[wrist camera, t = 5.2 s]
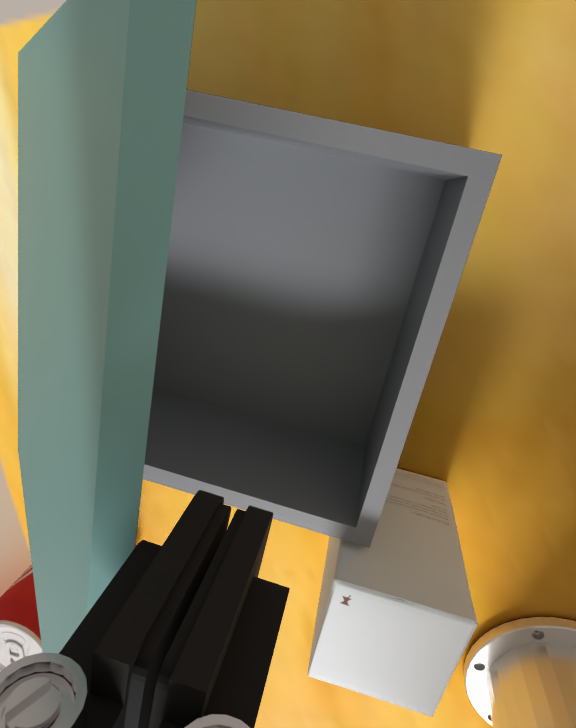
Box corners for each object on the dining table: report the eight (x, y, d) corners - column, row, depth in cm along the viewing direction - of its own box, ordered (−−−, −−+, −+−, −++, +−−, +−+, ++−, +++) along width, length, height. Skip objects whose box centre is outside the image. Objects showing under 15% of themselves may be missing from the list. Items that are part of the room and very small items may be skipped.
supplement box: (328, 531, 39) (301, 677, 27) (351, 452, 36) (332, 577, 24) (420, 559, 38) (433, 723, 26) (451, 481, 35) (481, 624, 24)
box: (466, 166, 29) (502, 154, 19) (375, 455, 36) (369, 547, 27) (147, 99, 31) (42, 59, 22) (122, 384, 38) (36, 446, 29)
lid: (201, -45, 6) (134, -74, 6) (100, 851, 13) (68, 869, 13) (39, 58, 21) (18, 52, 21) (33, 447, 29) (18, 449, 28)
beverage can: (74, 499, 43) (-36, 606, 32) (141, 512, 42) (51, 628, 31) (79, 556, 45) (-23, 675, 34) (143, 570, 44) (59, 698, 33)
